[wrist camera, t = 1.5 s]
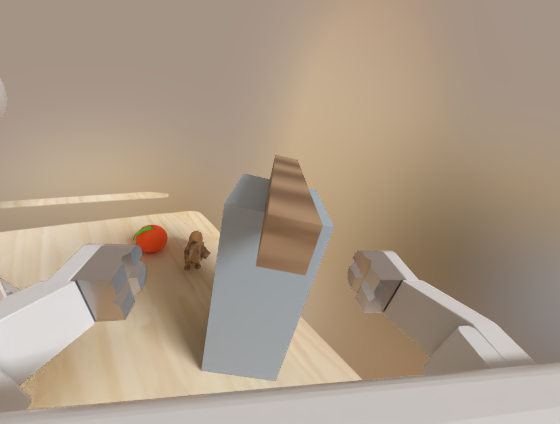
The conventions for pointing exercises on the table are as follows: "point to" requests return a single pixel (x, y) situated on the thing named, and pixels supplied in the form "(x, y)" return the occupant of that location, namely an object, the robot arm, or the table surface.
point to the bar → (288, 221)
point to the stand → (254, 290)
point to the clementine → (151, 238)
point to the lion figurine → (195, 250)
